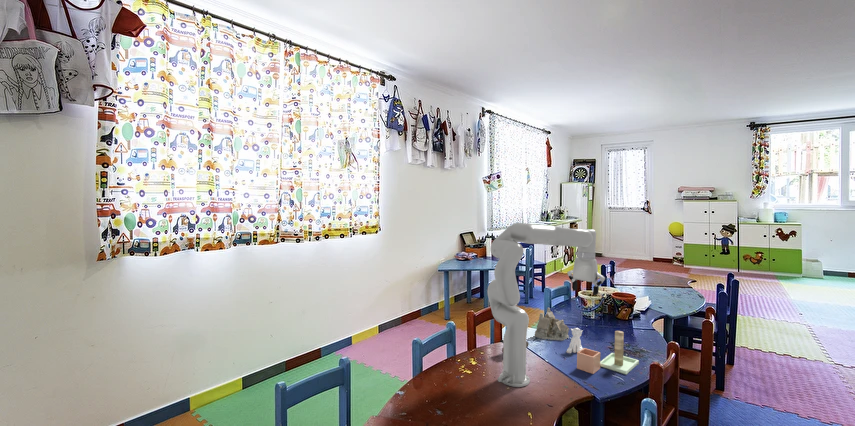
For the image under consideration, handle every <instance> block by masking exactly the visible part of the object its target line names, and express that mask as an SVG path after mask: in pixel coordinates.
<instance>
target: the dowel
mask: <svg viewBox="0 0 855 426" xmlns="http://www.w3.org/2000/svg"><path fill="white" fill-rule="evenodd" d="M624 335H625V332H624V331H622V330H615V331H614V353H615V357H614V364H615V365H618V366H623V356H624V344H625V343H624V341H625V340H624V337H625V336H624Z"/></svg>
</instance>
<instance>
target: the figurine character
mask: <svg viewBox="0 0 855 426" xmlns="http://www.w3.org/2000/svg"><path fill="white" fill-rule="evenodd" d="M499 342H500V343H502V344H503V339H500V340H499ZM528 347H529V342H528V341H527V340H526V349H527V348H528ZM501 351H502V353H503V347H502V348H501Z"/></svg>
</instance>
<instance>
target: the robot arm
mask: <svg viewBox="0 0 855 426" xmlns="http://www.w3.org/2000/svg"><path fill="white" fill-rule="evenodd" d="M596 241H597V232H596V230H595V229H591V228H590V229H589V228H581V229H579V228H567V227H561V226H555V225H548V224H547V225H546V224H535V223H526V222H525V223H524V222H515V223H512V224H511V225H510V226H508V227H507V228H506V229H505V230H504V231H502V232H501V233H500V234H499V235H498V236H497V237H496V238H495V239H494V240H493V241H492V242H491V244H490V253H491V255H492V256H493V257H494V258H497V259H498V261H497V262H496V265H495V267H494V270H493V272H494V274H493V275H494V279H493V280H492V281H490V282H489V284H488V286H487V293H486V294H487V298H488V302H489V306H490V309H491V314H492V316H493V318H494V319H495V321H496V322H498V323H499V324H502V325H503V326H504V327H506V330H505V332H504V334H503V338H502V340H503V343H502V344H503V347H502V348H503V352H502V355H503V356H502V358H503V359H502V363H503V366H502V372H501V373H500V374H499V377H497V379H496V380H497V382H498V383H502V384H504V385H506V386H509V387H513V388H520V387H522V388H523V387H526V386H528V385H529V384H530V382H531V381H530V380H531V378H530V376H528V374H527V348H526V341H527V334H528V330H529V329H528V328H529V323H530V318H529V315H528V313H527V312H526V310H525V309H522V308H521V307H519V306H517V305H518V304H519V302H520V301H521V294H520V290H519V284H518V281H517V276H516V268H517V266H518V264H519V262H520V261H521V259H522V258H523V256H524V247H523V246H522V244H521V243H523V244H529V245H543V246H544V245H545V246H547V245H548V246H559V247H561V246H562V247H574V248H577V252H576V251H575V252H574V255H576V256H577V257H575V259H574V263H573V269H571V270H569V271H567V273H566V274H567V277H568V279H569V280H570V281H571V288H572V292H576V291H578V280H579V281H582V282H583V281H584V282H589V283H592V284H593V287H592V288H593V289H592V291H593V292H592V295H594V296H596V295H598V294H599V287H600V286H601V285H602V284H604V281H605V280H606V277H605V276H604V275H602V274H600V273H599V267H598V261H597V259H596V249H597V248H596V244H597V242H596ZM598 279H599V280H598Z"/></svg>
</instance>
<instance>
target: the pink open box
mask: <svg viewBox="0 0 855 426" xmlns="http://www.w3.org/2000/svg"><path fill="white" fill-rule="evenodd" d="M582 348H583V349H582V350H580V351H579V352H577V351H576V369H577V370H581V371H584V372H586V373H589V374H592V375H594V374H596V372H598V371H599V370H600V369H601V367H600V361H601V352H600V351H597V350H593V349H589V348H586V347H582Z"/></svg>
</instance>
